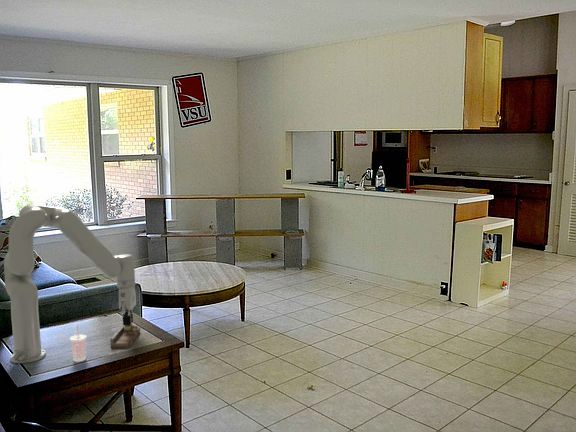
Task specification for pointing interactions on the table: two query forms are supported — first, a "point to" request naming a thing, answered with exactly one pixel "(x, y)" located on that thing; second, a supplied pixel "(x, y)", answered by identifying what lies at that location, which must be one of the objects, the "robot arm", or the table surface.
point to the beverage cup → (78, 346)
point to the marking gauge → (129, 326)
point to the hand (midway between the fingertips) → (128, 323)
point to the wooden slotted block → (123, 338)
